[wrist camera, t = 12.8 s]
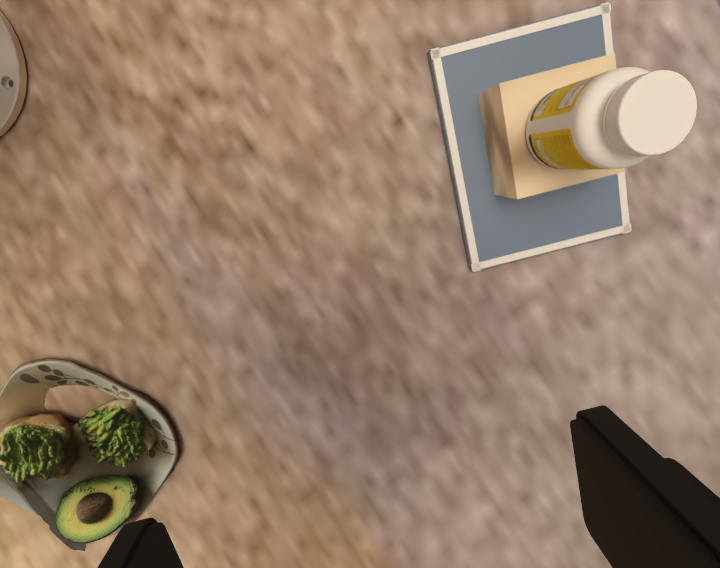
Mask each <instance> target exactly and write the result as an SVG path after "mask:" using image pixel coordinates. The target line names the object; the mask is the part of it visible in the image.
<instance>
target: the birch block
mask: <svg viewBox="0 0 720 568" xmlns="http://www.w3.org/2000/svg"><path fill="white" fill-rule="evenodd" d="M613 69H616V61H615V53H613V54H609V55H605V56H601V57H598V58H594V59H590V60H586V61H582V62H579V63H575V64H571V65H567V66H563V67H560V68H556V69H552V70H548V71H544V72H541V73H537V74H533V75H529V76H525V77H522V78H518V79H514V80H510V81H506V82H503V83H499V84H497V85H495V86H493V87H491V88H489V89H487V90H485V91H483V92H481V93H479V94H477V95H478V101H479V107H480V113H481V119H482V125H483V131H484V137H485V142H486V148H487V154H488V160H489V166H490V172H491V178H492V184H493V190H494V195H498V196H503V197H508V198H513V199H521V198H525V197H529V196H532V195H536V194H540V193H544V192H548V191H552V190H556V189H560V188H563V187H567V186H571V185H575V184H579V183H583V182H587V181H591V180H595V179H598V178H602V177H606V176H610V175H614V174H618V173H622V172H626V169H625V168H621V169H593V170H592V169H590V170H576V169H555V168H550V167H547V166H545V165H543V164H542V163H540V162H539V161H538V160H537V159H536V158H535V157H534V156H533V155H532V153H531V151H530V149H529V147H528V144H527V140H526V126H527V121H528V118H529V115H530V113H531V111H532V110H533V108H534V106H535V105H536V104H537V103H538V102H539V101H540V100H541V99H542V98H543V97H544V96H545V95H547V94H548V93H550V92H552V91H554V90H556V89H558V88H561V87H564V86H567V85H570V84H573V83H575V82H578V81H581V80H584V79H587V78H590V77H593V76H596V75H598V74H601V73H604V72H607V71H610V70H613Z"/></svg>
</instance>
